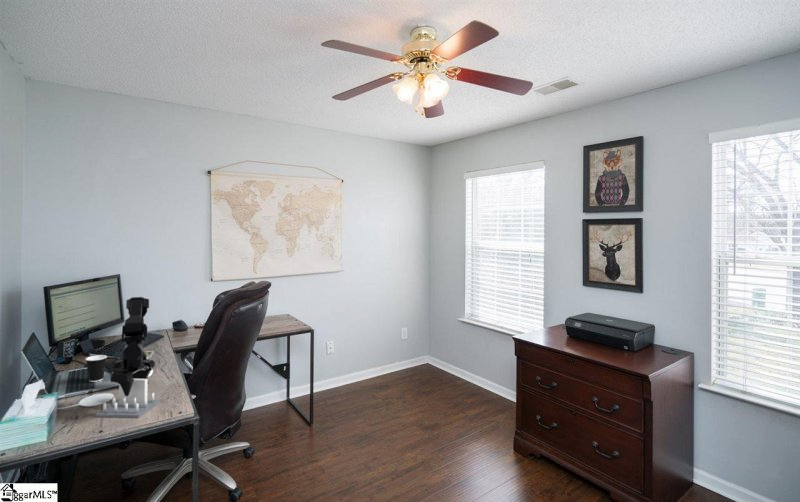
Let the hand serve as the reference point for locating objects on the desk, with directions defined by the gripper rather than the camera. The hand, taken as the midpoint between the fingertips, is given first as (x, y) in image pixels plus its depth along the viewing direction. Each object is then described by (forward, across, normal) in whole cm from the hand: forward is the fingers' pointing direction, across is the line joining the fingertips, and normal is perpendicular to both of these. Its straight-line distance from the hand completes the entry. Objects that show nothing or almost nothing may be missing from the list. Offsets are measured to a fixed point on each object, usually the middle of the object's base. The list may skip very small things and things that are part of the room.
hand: (133, 391), depth 158 cm
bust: (+6, -34, -17) cm, 39 cm away
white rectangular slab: (+5, 0, 0) cm, 5 cm away
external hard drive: (+7, -44, -31) cm, 55 cm away
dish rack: (+6, +2, 0) cm, 6 cm away
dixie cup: (+6, -26, -34) cm, 44 cm away
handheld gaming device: (+7, -66, -37) cm, 76 cm away
